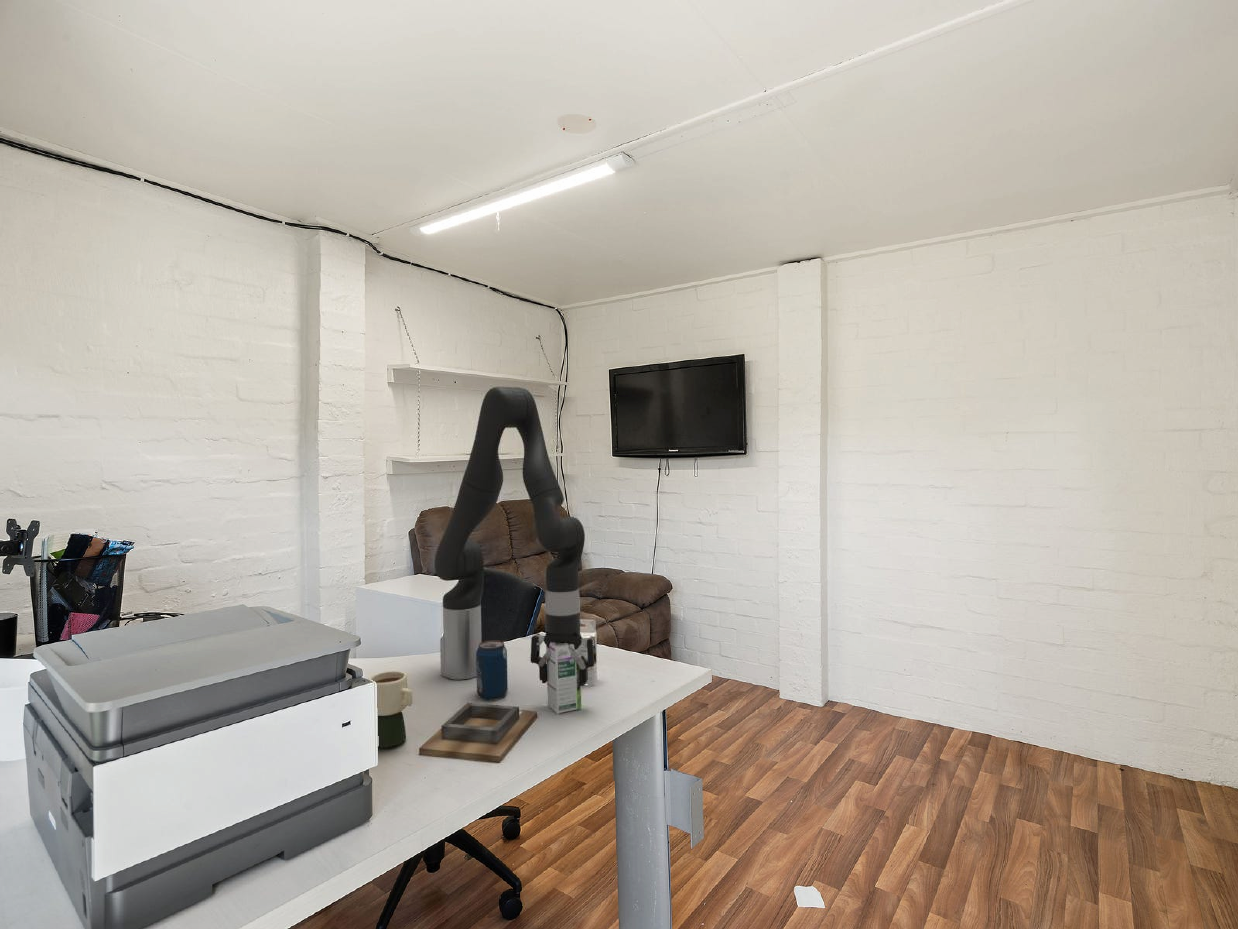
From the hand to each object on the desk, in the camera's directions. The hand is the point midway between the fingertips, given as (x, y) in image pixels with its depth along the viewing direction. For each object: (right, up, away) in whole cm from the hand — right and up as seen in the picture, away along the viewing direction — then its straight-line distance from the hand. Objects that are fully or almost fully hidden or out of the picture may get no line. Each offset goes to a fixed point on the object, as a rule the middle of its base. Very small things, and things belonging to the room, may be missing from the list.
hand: (563, 683), depth 142 cm
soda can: (-17, -5, +7) cm, 19 cm away
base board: (-15, -6, -13) cm, 21 cm away
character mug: (-32, -6, -16) cm, 37 cm away
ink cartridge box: (+2, -5, +15) cm, 16 cm away
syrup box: (0, -5, 0) cm, 5 cm away
